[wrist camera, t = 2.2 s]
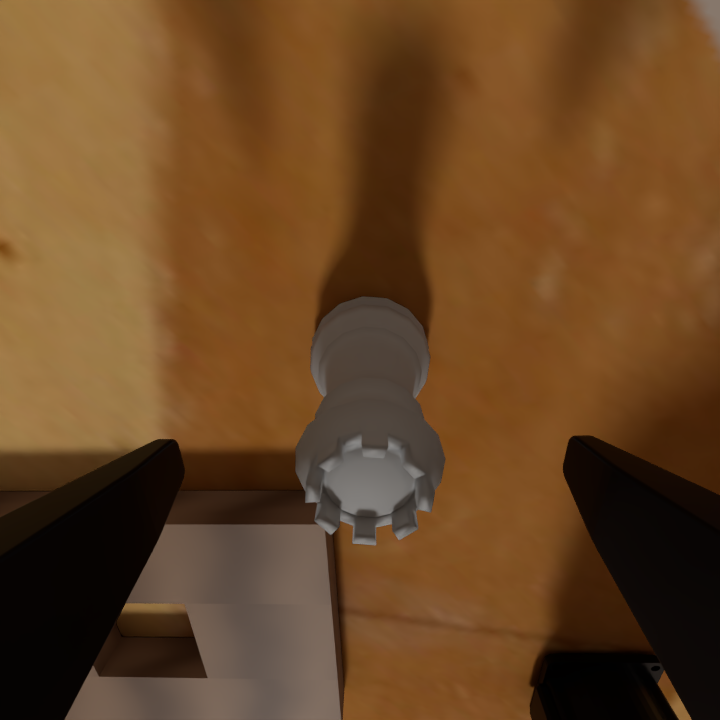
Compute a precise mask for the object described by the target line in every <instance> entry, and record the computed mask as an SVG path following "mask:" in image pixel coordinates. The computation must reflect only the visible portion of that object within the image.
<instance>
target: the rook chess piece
mask: <svg viewBox="0 0 720 720" xmlns="http://www.w3.org/2000/svg"><path fill="white" fill-rule="evenodd" d="M428 349H429V347H428V343H427V340H426V336H425V333H424V329H423V326H422V325H421V324H420V323H419V321H418V320H417V319H416V318H415V317H414V315H413V314H412V313H411V312H410V311H409V309H407V308H405V307H403V306H401V305H399V304H397V303H395V302H393V301H391V300H389V299H387V298H377V297H364V296H362V297H359V298H356V299H353V300H350V301H347V302H344V303H340V304H339V305H338V306H336V307H335V308H334V309H333V310H332V311H331V312H329V313H328V314H327V315H326V316H325V317H324V318H322V320H321V322H320V324H319V326H318V328H317V331H316V333H315V335H314V337H313V340H312V346H311V365H310V369H311V373H312V375H313V378H314V380H315V382H316V385H317V387H318V390H319V392H320V393H321V394H322V395H323V396H324V399H323V401H322V402H321V404H320V406H319V408H318V410H317V412H316V414H315V420H314V421H312V422H311V423H310V424H308V425H307V427H306V429H305V431H304V433H303V435H302V437H301V438H300V440H299V442H298V444H297V446H296V470H295V472H296V474H297V476H298V478H299V480H300V482H301V484H302V486H303V488H304V490H305V492H306V494H305V503H310V502H316V503H317V509H316V514H315V520H314V521H315V522H316V523H317V524H318V525H320V526H321V527H322V528H323V529H324V530H325V531H327V532H328V533H329V534H330V535H331V534H332V533H334V532H335V531H336V530H337V529H338V528H339V525H340V521H343V522H345V523H348V524H350V525H353V542H352V543H353V544H366V545H376V527H380V526H385V525H389V524H392V530H393V532H394V534H395V535H396V536H397V538H398V539H399V540H400V539H402V538H404V537H405V536H407V535H409V534H411V533H412V532H414V531H416V530H417V529H418V523H417V516H416V511H417V510H418V509H419V510H423V511H427V512H431V510H432V505H433V500H434V494H435V490H436V488H437V487H438V486H439V484H440V483H441V479H442V474H443V469H444V464H445V456H444V453H443V449H442V446H441V443H440V439H439V436H438V434H437V433H436V432H435V431H434V430H433V429H432V428H431V427H430V425H429V424H428V423H427V422H426V421H425V420H424V417H423V413H422V410H421V407H420V404H419V403H418V402H417V400H416V399H415V398H416V396H417V395H418V393H419V392H420V390H421V389H422V387H423V386H424V384H425V382H426V380H427V375H428V368H429V362H430V354H429V350H428Z"/></svg>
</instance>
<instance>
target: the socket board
mask: <svg viewBox="0 0 720 720" xmlns="http://www.w3.org/2000/svg"><path fill="white" fill-rule="evenodd" d="M50 492H52V491H0V517H1V516H3V515H5V514H7V513H9V512H11V511H13V510H15V509H17V508H19V507H21V506H23V505H25V504H27V503H29V502H31V501H33V500H35V499H38V498H40V497H42V496H44V495H46V494H48V493H50ZM305 494H306V492H305V491H178V493H177V496H176V498H175V501H174V503H173V506H172V508H171V511H170V513H169V516H168V518H167V521H166V523H165V526H164V528H163V531H162V533H161V535H160V538H159V540H158V542H157V544H156V546H155V548H154V550H153V552H152V554H151V556H150V558H149V559H148V561H147V563H146V565H145V567H144V569H143V571H142V573H141V575H140V577H139V579H138V580H137V582H136V584H135V586H134V588H133V590H132V592H131V594H130V596H129V598H128V600H127V602H126V603H172V604H185V607H186V610H187V613H188V617H189V620H190V623H191V626H192V629H193V633H194V636H195V638H155V637H121V634H120V632H119V630H118V627H117V625H116V623H115V624H114V626H113V628H112V630H111V632H110V634H109V636H108V638H107V640H106V642H105V644H104V646H103V647H102V649H101V651H100V653H99V655H98V657H97V659H96V661H95V663H94V665H93V667H92V669H91V670H90V672H89V674H88V676H87V678H86V680H85V682H84V684H83V686H82V688H81V690H80V691H79V693H78V695H77V697H76V699H75V701H74V703H73V705H72V707H71V709H70V711H69V713H68V714H67V716H66V718H65V720H343V703H344V680H343V666H342V653H341V639H340V626H339V613H338V599H337V586H336V572H335V559H334V546H333V533H332V534H331V535H330V534H329V533H328V532H327V531H325V530H324V529H323V528H322V527H321V526H320V525H318V524H317V523H316V522H315V521H314V520H315V514H316V509H317V503H316V502H310V503H305Z"/></svg>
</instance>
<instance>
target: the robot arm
mask: <svg viewBox="0 0 720 720" xmlns="http://www.w3.org/2000/svg"><path fill="white" fill-rule="evenodd" d="M184 473H185V469H184V464H183V460H182V456H181V452H180V448H179V445H178V443H177V441H176V440H174V439H158V440H155V441H153V442H151V443H148V444H146V445H144V446H142V447H140V448H138V449H136V450H134V451H132V452H130V453H128V454H126V455H124V456H122V457H120V458H118V459H116V460H114V461H112V462H110V463H108V464H106V465H104V466H102V467H100V468H98V469H96V470H94V471H92V472H90V473H88V474H86V475H84V476H82V477H80V478H78V479H76V480H74V481H72V482H70V483H68V484H66V485H64V486H62V487H60V488H58V489H56V490H54V491H52V492H50V493H48V494H46V495H44V496H42V497H40V498H38V499H35V500H33V501H31V502H29V503H27V504H25V505H23V506H21V507H19V508H17V509H15V510H13V511H11V512H9V513H7V514H5V515H3V516H1V517H0V720H65V718H66V716H67V714H68V713H69V711H70V709H71V707H72V705H73V703H74V701H75V699H76V697H77V695H78V693H79V691H80V690H81V688H82V686H83V684H84V682H85V680H86V678H87V676H88V674H89V672H90V670H91V669H92V667H93V665H94V663H95V661H96V659H97V657H98V655H99V653H100V651H101V649H102V647H103V646H104V644H105V642H106V640H107V638H108V636H109V634H110V632H111V630H112V628H113V626H114V624H115V623H116V621H117V619H118V617H119V615H120V613H121V611H122V609H123V607H124V605H125V603H126V602H127V600H128V598H129V596H130V594H131V592H132V590H133V588H134V586H135V584H136V582H137V580H138V579H139V577H140V575H141V573H142V571H143V569H144V567H145V565H146V563H147V561H148V559H149V558H150V556H151V554H152V552H153V550H154V548H155V546H156V544H157V542H158V540H159V538H160V535H161V533H162V531H163V528H164V526H165V523H166V521H167V518H168V516H169V513H170V511H171V508H172V506H173V503H174V501H175V498H176V496H177V493H178V491H179V488H180V486H181V483H182V481H183V478H184ZM563 473H564V477H565V479H566V481H567V484H568V486H569V488H570V491H571V493H572V495H573V498H574V500H575V502H576V505H577V507H578V509H579V512H580V514H581V516H582V519H583V521H584V523H585V526H586V528H587V530H588V532H589V534H590V537H591V539H592V541H593V543H594V544H595V546H596V548H597V550H598V552H599V554H600V556H601V557H602V559H603V561H604V563H605V565H606V566H607V568H608V570H609V572H610V573H611V575H612V577H613V579H614V581H615V582H616V584H617V586H618V588H619V590H620V591H621V593H622V595H623V597H624V599H625V600H626V602H627V604H628V606H629V608H630V609H631V611H632V613H633V615H634V617H635V618H636V620H637V622H638V624H639V626H640V627H641V629H642V631H643V633H644V635H645V636H646V638H647V640H648V642H649V643H650V645H651V647H652V649H653V651H654V652H655V654H656V655H607V654H550V655H548V656H546V657H545V658H544V661H543V665H542V669H541V673H540V676H539V680H538V684H537V686H536V689H535V692H534V696H533V700H532V704H531V707H530V715H531V718H532V720H679V719H678V718H677V716H676V714H675V713H674V711H673V709H672V708H671V706H670V704H669V703H668V701H667V699H666V698H665V696H664V694H663V693H662V691H661V689H660V688H659V686H658V682H659V679H660V677H661V675H662V673H663V671H664V670H665V672H666V674H667V676H668V678H669V679H670V681H671V683H672V685H673V687H674V688H675V690H676V692H677V694H678V696H679V697H680V699H681V701H682V703H683V704H684V706H685V708H686V710H687V712H688V713H689V715H690V717H691V719H692V720H720V495H718V494H716V493H714V492H712V491H710V490H707V489H705V488H703V487H701V486H699V485H697V484H694V483H692V482H690V481H688V480H686V479H684V478H682V477H679V476H677V475H675V474H673V473H671V472H669V471H667V470H664V469H662V468H660V467H658V466H656V465H654V464H651V463H649V462H647V461H645V460H643V459H641V458H639V457H636V456H634V455H632V454H630V453H628V452H626V451H623V450H621V449H619V448H617V447H615V446H613V445H611V444H608V443H606V442H604V441H602V440H600V439H598V438H595V437H593V436H589V435H587V436H572V437H571V438H570V439H569V442H568V446H567V450H566V454H565V459H564V463H563Z"/></svg>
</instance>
